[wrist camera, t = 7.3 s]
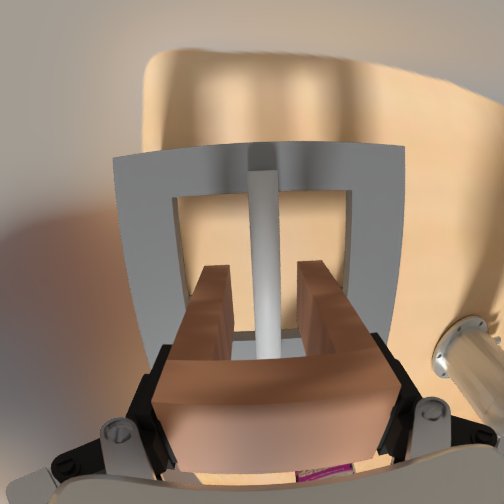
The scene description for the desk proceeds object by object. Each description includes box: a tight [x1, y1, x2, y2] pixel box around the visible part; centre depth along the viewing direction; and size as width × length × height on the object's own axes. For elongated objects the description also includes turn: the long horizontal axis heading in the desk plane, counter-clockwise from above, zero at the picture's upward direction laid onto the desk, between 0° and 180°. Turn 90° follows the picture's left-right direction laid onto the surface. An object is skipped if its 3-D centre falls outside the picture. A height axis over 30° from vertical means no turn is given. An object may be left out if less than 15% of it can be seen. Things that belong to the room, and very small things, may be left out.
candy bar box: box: [295, 463, 356, 483], centre depth 40 cm, size 11×5×16 cm, turn 115°
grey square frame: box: [113, 141, 405, 370], centre depth 27 cm, size 22×19×14 cm
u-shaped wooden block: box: [151, 260, 401, 474], centre depth 13 cm, size 7×4×11 cm, turn 93°
